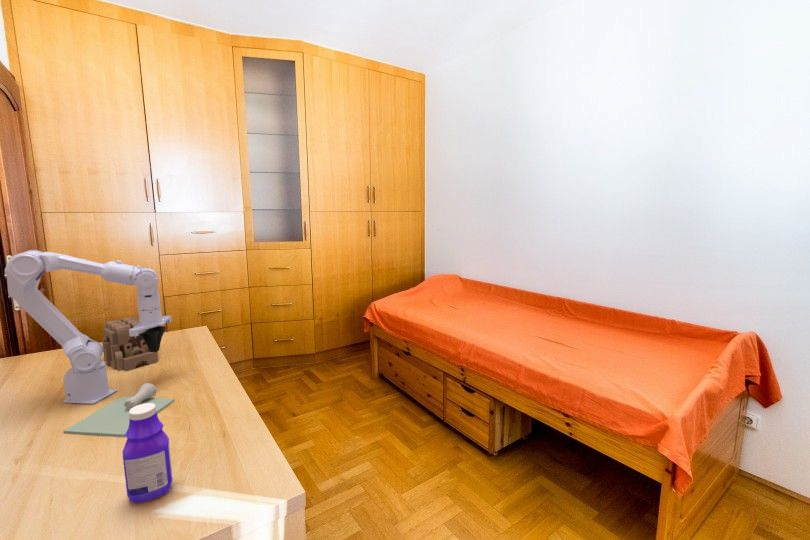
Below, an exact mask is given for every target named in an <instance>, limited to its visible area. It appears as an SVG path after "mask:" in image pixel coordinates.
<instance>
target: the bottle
mask: <svg viewBox="0 0 810 540" xmlns="http://www.w3.org/2000/svg"><path fill="white" fill-rule="evenodd" d="M163 428H164V423H163V422H162V421H161V420H160V419H159V416H158V413H157V410H156V405H155V404H153V403H145V404H140V405H137V406H135V407H133V408H131V409H130V410H129V427H128V430H127V432H126V434H125V438H126V441H125V443H124V444H125V445H124V447H123V449H122V460H123V462H122V463H123V470H124V479H125V488H126V495H127V497H128V500H129V501H130V502H131V503H135V504H138V503H143V502H147V501H152V500H154V499H157V498H160V497H162V496H164V495H165V494H167V493H168V492H169V490H170V489H171V486H172V482H173V479H174V478H173V470H172V469H173V467H172V458H171V450H170V449H171V448H170V447H171V446H170V438H169V437H168V436H169V435H167V433H166V432H165V431H164V430H163Z"/></svg>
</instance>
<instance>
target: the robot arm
mask: <svg viewBox="0 0 810 540" xmlns="http://www.w3.org/2000/svg"><path fill="white" fill-rule="evenodd" d="M122 262H123V261H121V260H118V259H117V260H115V261H113V260H112V261H110V260H109V261H108V262H105V263H100V262H97V261H93V260H88V259H84V258H80V257H76V256H71V255H67V254H63V253H57V252H52V251H44V252H43V251H41V250H38V249H29V250H26V251H24V252H21V253H16V254H15V255H12V256H11V257H10V258H9V260H8V262H7V263H6V266H5V268H4V273H5V275H6V283H7V293H8V295H9V296H10V297H11V299H13V301H15V302H16V303H17V304H18V305H19V306H20V307H21V308H22V309H23V310H24V311H25V312H26V313H27V314H28V315H29V316H30V317H31V318H32V319H34V321H35V322H36V323H38V324H39V326H41V328H42V329H44V330H45V331H46V332H47V333H48V334H49V336H50V337H52V338H53V339H54V340H55V341H56V342H57V343H58V344H59V345H60V346H61V348H62V350H63V352H64V355H65V356H66V357H67V358H68V359H69V362H70V365H71V368H69V369H68V370H67V371H66V372H65V374H64V375H63V379H62V380H63V388H64V393H65V399H64V400H63V401H62V402H63V403H64V404H65V403H66V404H67V403H68V404H70V403H71V404H87V405H90V404H91V405H93V404H97V403H98V402H100V401H101V400H103V399H105V398H107V397H109V396H110V395H112V394H114V393H116V392H118V389H117V388H110V387H109V380H108V374H107V373H108V372H107V365H106V362H105V360H102V358H101V357H102V356H103V355H104V352H103V345H102V343H100V342H98V341H96V340H94V339H91V338H90V337H89V336H88V335H86V334H84V333H82V332H81V331H79V329H77V327H76V326H75V325H74V324H73V323H72V322H71V321H70V320H69V319H68V318H67V317H66V316H65V315H64V314H63V313H62V312H61V311H60V309H58V308H57V307H56V306H55V305H54V304H53V303H52V301H50V300H49V299H48V298H47V297H46V296H45V295H44V293H42V292H41V291H40V290H39V289H38V288H39V284H40V282H41V278H42V276H43V275H44V274H45V272H46V273H49V272H55V271H58V270H68V271H73V272H81V273H87V274H93V275H99V276H100V277H101V278H102V279H103V281H105V282H111V283H116V284H121V285H126V286H135V287H136V292H137V293H136V301H137V303H136V304H137V312H138V319H139V322H140V324H138V325H137V326H135V327H134V328H132V329H130V330H129V336H135V337H136V336H138V334H139V335H140V336H141V337H142V338H143V339H144V341H145V342H146V344H147V346H148V349H149V351H150V352H157V351H158V352H159V351H160V348H161V342H162V338H163V336H164V333H165V332H166V326H164V325H166V324H167V323H172V322H173V320H172V315H164V316H163V313H162V305H161V304H162V303H161V298H160V297H161V295H160V292H159V278H158V277H159V276H158V274H157V272H156V271H155V270H154V269H152V268H149V267H147V266H146V267H142V266H141V265H139V264H138V265H136V266H135V265H131V264H126V263H122Z"/></svg>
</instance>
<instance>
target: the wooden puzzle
mask: <svg viewBox="0 0 810 540" xmlns="http://www.w3.org/2000/svg"><path fill="white" fill-rule="evenodd" d="M138 324H140V322H139V318H137V316H129V317H125V318H122V319H114V320H109V321H108V320H107V321H105V322H104V327H103V328H102V332H103V333H102V334H103V338H101V345H102V346H103V359H104V360H103V361H104V362H105V365H106V367H109V368H112V369H114V370H116V371H118V372H120V371H125V372H129V371H133V370H136V367H137V366H139V365H140V366H141V365H142V364H144V365H145V364H147V363H148V365H149V364H151V365H154V364H157V363H156V362H158V363H159V351H157V352H150V351H149V349H148V346H147V344H146V342H145V341H144V339H143V338H142V337H141V336H140V335H139V334H138V336H129V330H130V329H132V328H134V327H135V326H137V325H138ZM153 363H154V364H153Z"/></svg>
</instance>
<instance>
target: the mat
mask: <svg viewBox="0 0 810 540" xmlns="http://www.w3.org/2000/svg"><path fill="white" fill-rule="evenodd" d="M131 397H132V396H121V397H119V398H117V399H116V400H114V401H112V402H110V403H108V404H106V405H105V406H104V407H101V408H100V409H98V410H96V411H95V412H93V413H91V414H90V415H88V416H86V417H84V418H83V419H81V420H79V421H78V422H75V423H74V424H73V425H70V427H67V428H66V429H64V430H63V431H62V433H63V434H68V435H69V434H70V435H87V436H104V437H117V438H118V437H120V438H121V437H122V438H126V436H125V434H126V432H127V430H128V427H129V408H128V409H126V406H124V404H125V401H126V400H127V399H128V398H131ZM175 401H176V400H175V398H164V397H163V398H160V397H152V398H149V399H145V400H143V401H141V402H140V404H145V403H153V404H155V405H156V410H157V414H158V413H159V414H160V412H162V411H163V410H165V409H166V408H167V407H168V406H170V405H172V404H173V403H174V402H175ZM140 404H138V405H140Z"/></svg>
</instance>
